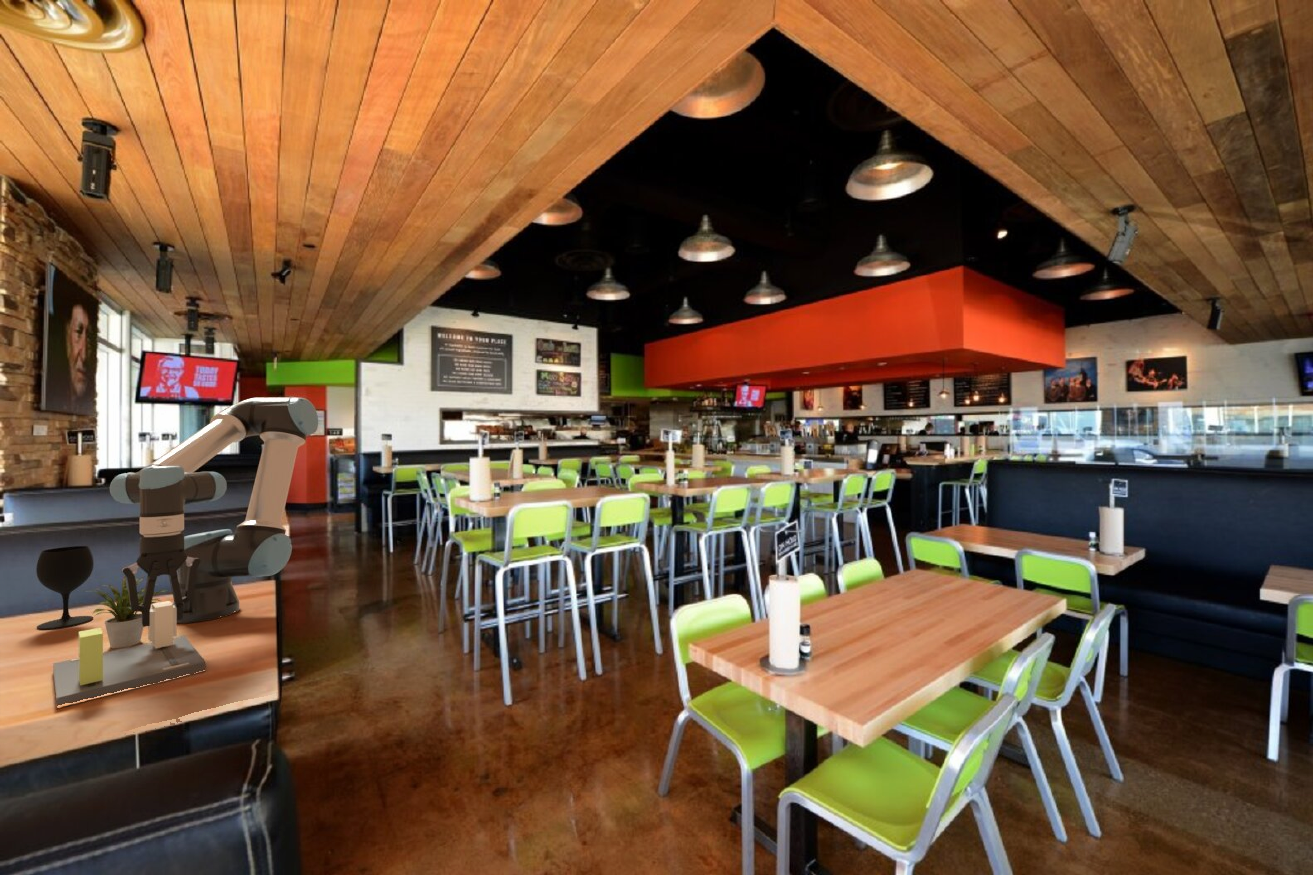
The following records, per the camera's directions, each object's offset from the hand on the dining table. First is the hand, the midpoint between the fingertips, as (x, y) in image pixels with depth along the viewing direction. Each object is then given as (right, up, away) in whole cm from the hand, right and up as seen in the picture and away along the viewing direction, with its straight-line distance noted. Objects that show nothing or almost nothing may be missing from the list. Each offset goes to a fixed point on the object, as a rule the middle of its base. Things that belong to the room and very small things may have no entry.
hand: (162, 637), depth 123 cm
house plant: (-15, -4, +6) cm, 17 cm away
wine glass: (-47, -5, +23) cm, 52 cm away
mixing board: (+1, -4, -9) cm, 10 cm away
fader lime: (+3, -1, -18) cm, 18 cm away
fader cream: (0, -2, 0) cm, 2 cm away
